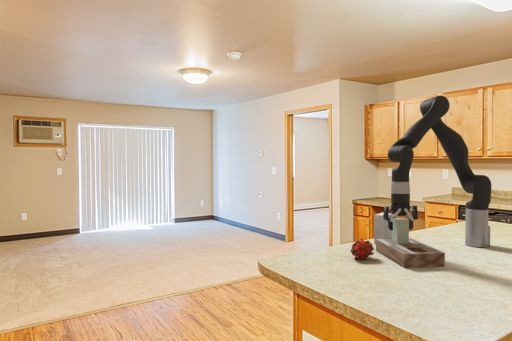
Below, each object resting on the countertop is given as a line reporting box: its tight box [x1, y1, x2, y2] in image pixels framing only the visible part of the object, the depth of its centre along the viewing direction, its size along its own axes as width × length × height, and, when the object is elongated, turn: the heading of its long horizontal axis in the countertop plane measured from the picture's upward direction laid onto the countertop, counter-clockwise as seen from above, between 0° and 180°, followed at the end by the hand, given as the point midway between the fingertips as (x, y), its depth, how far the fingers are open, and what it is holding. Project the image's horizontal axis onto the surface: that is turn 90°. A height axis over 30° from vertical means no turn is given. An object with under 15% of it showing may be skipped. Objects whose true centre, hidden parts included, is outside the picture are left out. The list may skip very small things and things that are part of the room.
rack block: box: [375, 237, 446, 269], centre depth 151 cm, size 16×26×5 cm, turn 5°
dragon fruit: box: [350, 238, 375, 260], centre depth 150 cm, size 8×8×12 cm
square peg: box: [392, 217, 410, 244], centre depth 157 cm, size 5×5×14 cm
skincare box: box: [373, 211, 392, 245], centre depth 176 cm, size 8×6×15 cm
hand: (400, 229), depth 157 cm, fingers open, 8 cm apart
